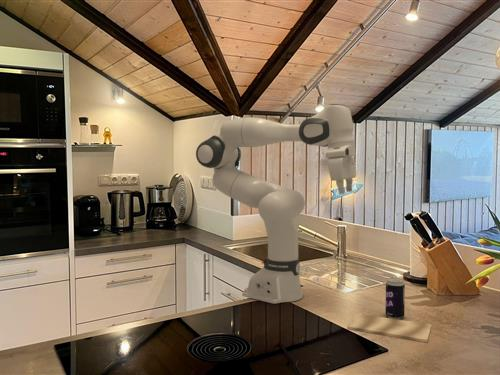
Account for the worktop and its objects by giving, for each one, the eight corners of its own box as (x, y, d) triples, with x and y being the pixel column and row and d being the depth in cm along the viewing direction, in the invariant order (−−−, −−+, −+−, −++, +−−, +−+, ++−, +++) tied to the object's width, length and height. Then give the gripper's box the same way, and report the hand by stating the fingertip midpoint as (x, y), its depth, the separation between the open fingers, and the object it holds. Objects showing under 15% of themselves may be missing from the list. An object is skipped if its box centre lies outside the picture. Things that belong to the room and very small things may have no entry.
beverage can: (389, 312, 141) (389, 276, 140) (407, 316, 137) (407, 279, 136) (382, 317, 136) (382, 280, 135) (400, 321, 133) (400, 283, 132)
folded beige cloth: (347, 329, 128) (347, 326, 128) (357, 315, 138) (357, 313, 138) (427, 342, 117) (427, 339, 117) (431, 327, 128) (431, 324, 128)
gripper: (341, 153, 156) (344, 191, 156) (323, 152, 138) (327, 195, 138) (358, 151, 153) (362, 189, 153) (343, 150, 135) (347, 194, 135)
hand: (345, 192), depth 145 cm, fingers open, 8 cm apart
